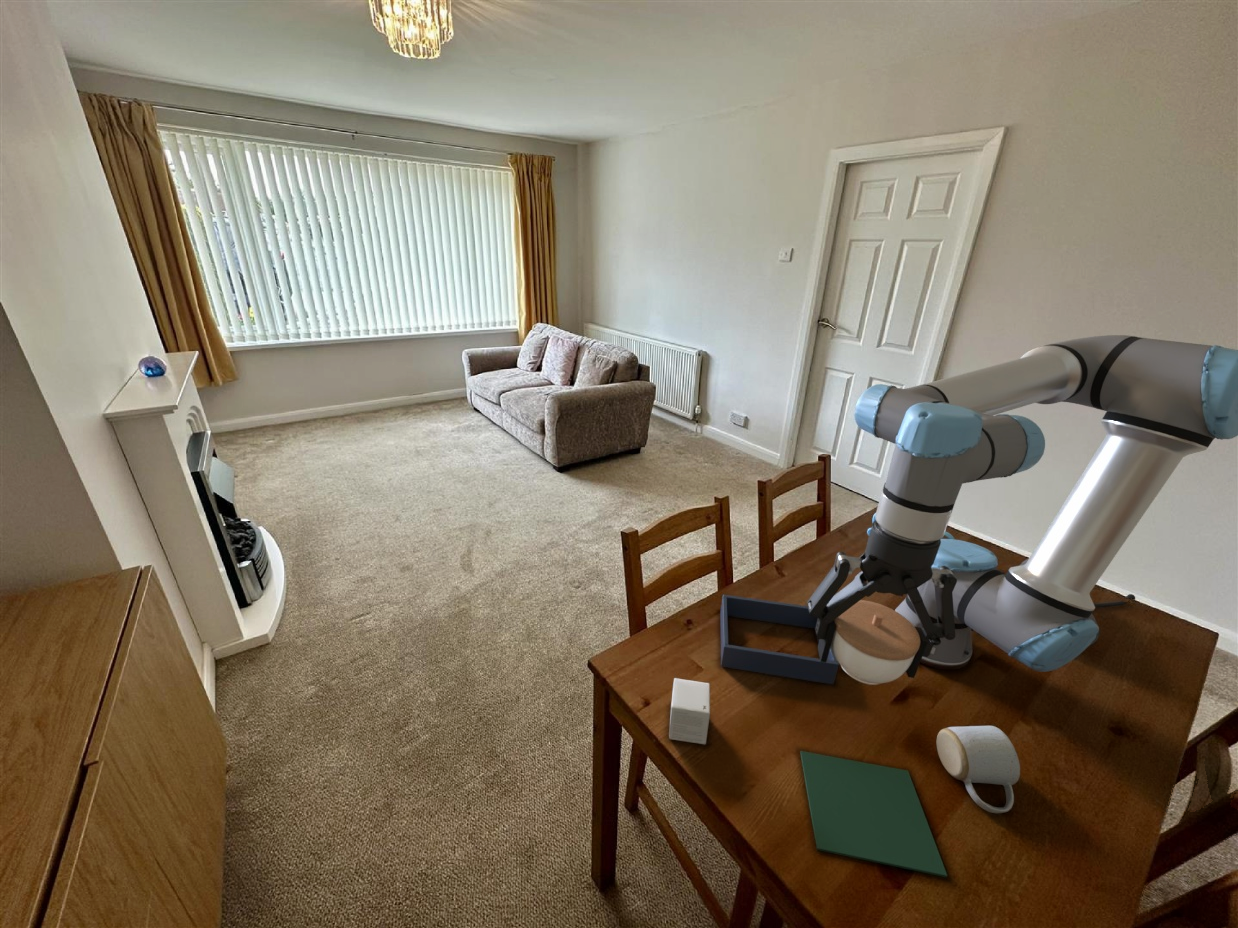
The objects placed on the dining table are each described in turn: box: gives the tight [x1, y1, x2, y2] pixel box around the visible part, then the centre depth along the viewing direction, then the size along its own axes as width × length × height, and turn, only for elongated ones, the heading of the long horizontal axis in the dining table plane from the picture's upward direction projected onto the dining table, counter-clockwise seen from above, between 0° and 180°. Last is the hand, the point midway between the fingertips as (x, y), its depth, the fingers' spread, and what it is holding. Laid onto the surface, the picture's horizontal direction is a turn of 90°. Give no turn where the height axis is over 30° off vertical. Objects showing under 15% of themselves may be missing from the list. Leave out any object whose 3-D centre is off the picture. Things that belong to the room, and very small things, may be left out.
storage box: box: [719, 594, 840, 685], centre depth 97 cm, size 21×16×5 cm
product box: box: [668, 677, 711, 745], centre depth 79 cm, size 6×6×7 cm
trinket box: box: [831, 599, 920, 686], centre depth 67 cm, size 11×11×9 cm
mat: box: [799, 750, 948, 878], centre depth 69 cm, size 16×14×1 cm
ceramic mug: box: [935, 725, 1021, 814], centre depth 72 cm, size 11×8×8 cm
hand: (864, 662), depth 68 cm, fingers closed on trinket box, 11 cm apart
